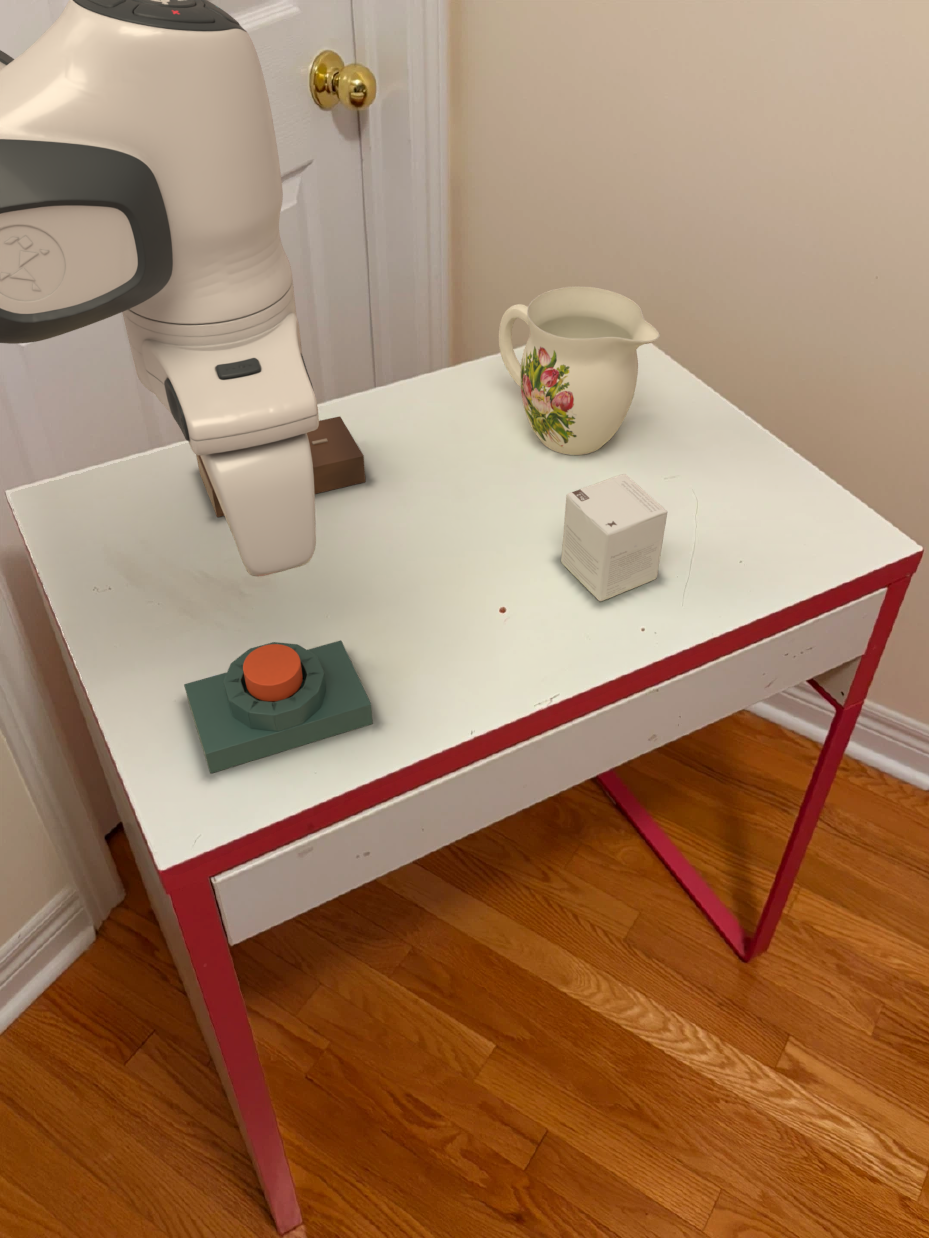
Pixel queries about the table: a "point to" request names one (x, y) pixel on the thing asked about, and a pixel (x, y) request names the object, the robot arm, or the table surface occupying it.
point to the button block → (277, 708)
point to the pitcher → (576, 364)
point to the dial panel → (319, 460)
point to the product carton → (612, 536)
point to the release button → (272, 672)
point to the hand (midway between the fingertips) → (249, 535)
